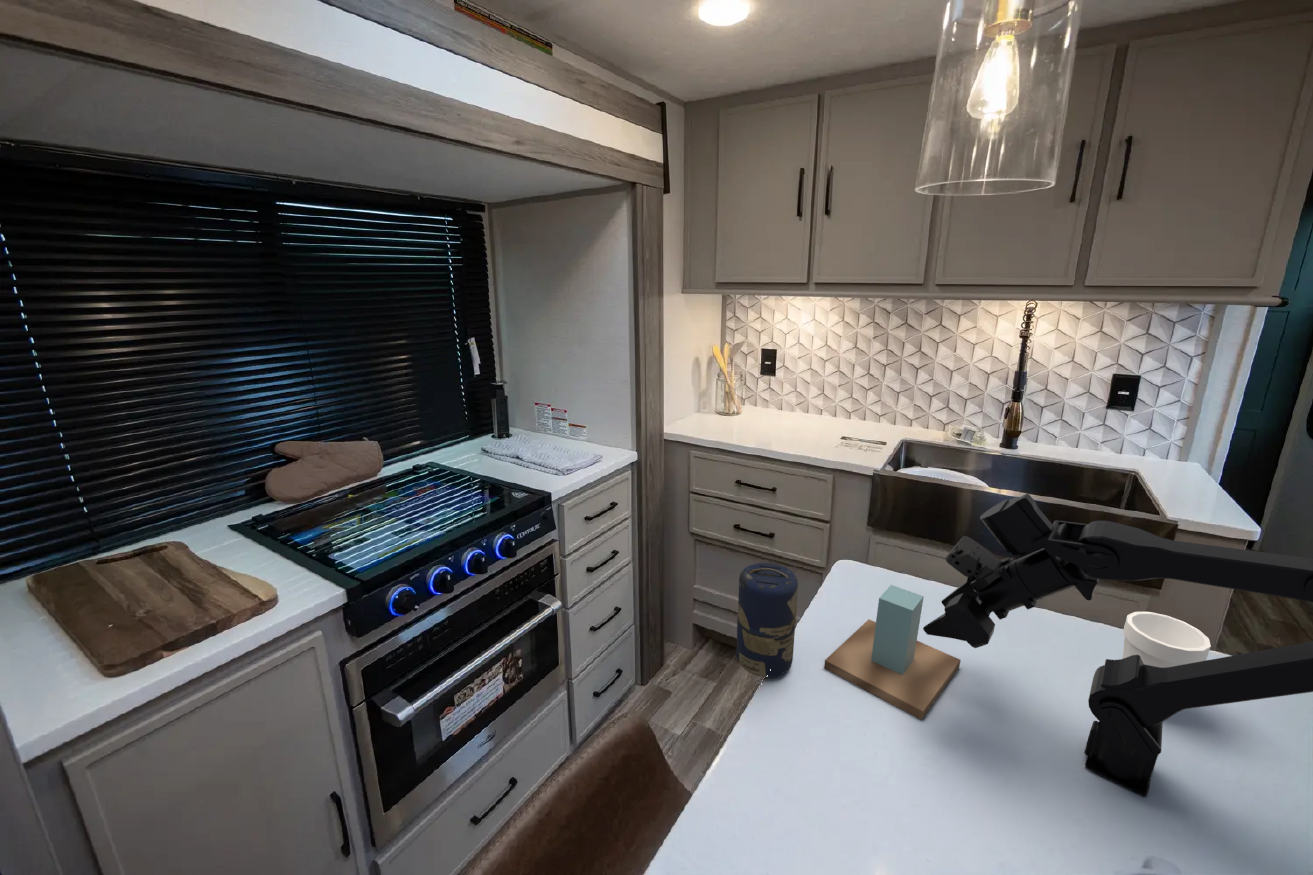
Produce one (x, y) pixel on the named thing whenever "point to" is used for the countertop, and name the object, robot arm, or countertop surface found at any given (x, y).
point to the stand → (900, 690)
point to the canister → (766, 619)
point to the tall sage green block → (896, 628)
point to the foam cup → (1163, 640)
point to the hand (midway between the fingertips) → (934, 617)
